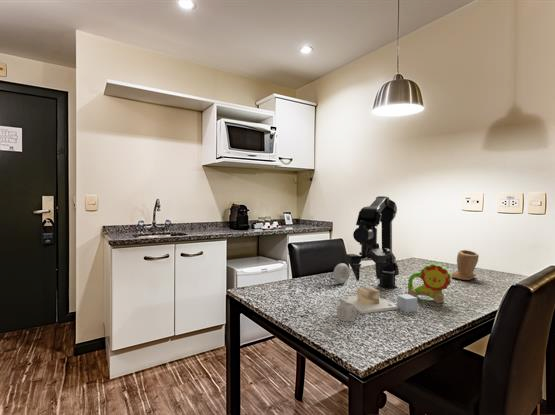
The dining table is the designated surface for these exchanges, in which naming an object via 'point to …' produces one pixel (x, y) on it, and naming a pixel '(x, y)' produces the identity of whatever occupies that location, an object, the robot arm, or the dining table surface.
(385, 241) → the robot arm
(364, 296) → the maple brick
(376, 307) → the building plate
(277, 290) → the dining table surface
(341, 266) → the donut
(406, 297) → the slate brick
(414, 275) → the toy lion
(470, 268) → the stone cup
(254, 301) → the dining table surface
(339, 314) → the die
